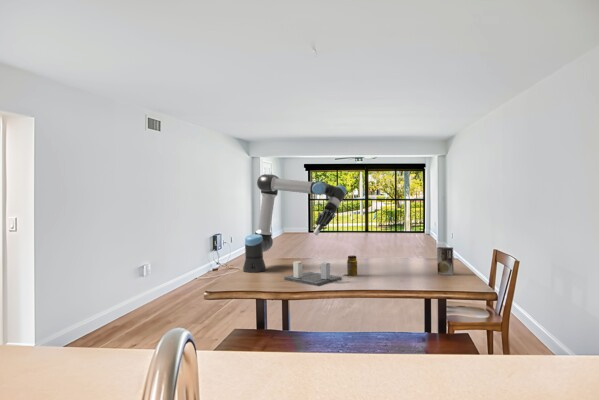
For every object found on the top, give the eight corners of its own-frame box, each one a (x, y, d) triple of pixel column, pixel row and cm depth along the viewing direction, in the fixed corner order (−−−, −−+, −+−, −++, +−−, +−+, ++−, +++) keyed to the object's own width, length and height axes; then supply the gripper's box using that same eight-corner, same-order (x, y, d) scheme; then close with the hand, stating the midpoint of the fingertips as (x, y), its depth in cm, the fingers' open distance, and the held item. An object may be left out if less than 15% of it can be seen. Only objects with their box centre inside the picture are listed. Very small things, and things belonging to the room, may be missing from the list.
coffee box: (453, 273, 265) (453, 247, 264) (452, 275, 259) (452, 248, 258) (438, 272, 268) (438, 246, 268) (437, 274, 263) (436, 248, 262)
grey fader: (320, 278, 248) (320, 263, 248) (324, 277, 251) (324, 262, 251) (326, 279, 246) (325, 263, 245) (330, 278, 248) (329, 262, 248)
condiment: (360, 275, 263) (359, 256, 263) (349, 277, 259) (349, 257, 258) (352, 273, 270) (352, 254, 269) (342, 275, 265) (341, 256, 265)
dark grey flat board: (284, 279, 255) (284, 277, 255) (309, 274, 271) (309, 271, 271) (316, 285, 237) (316, 283, 237) (341, 279, 253) (341, 276, 253)
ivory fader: (293, 277, 254) (293, 262, 253) (297, 276, 256) (297, 261, 256) (298, 278, 251) (298, 262, 250) (302, 277, 253) (302, 261, 253)
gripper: (342, 209, 274) (326, 238, 262) (327, 209, 283) (310, 237, 272) (337, 201, 270) (320, 230, 258) (321, 201, 279) (304, 229, 268)
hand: (315, 234), depth 265 cm, fingers closed
